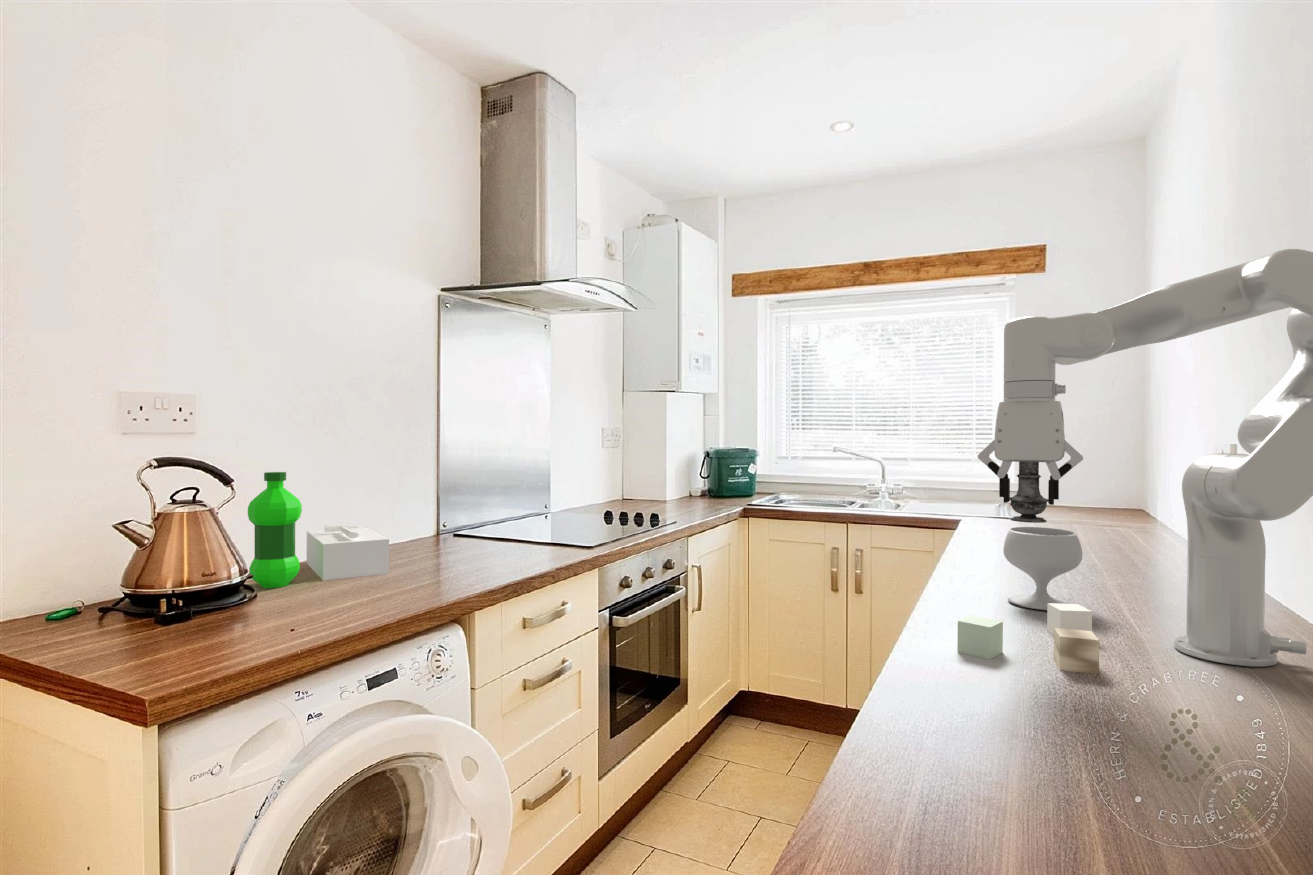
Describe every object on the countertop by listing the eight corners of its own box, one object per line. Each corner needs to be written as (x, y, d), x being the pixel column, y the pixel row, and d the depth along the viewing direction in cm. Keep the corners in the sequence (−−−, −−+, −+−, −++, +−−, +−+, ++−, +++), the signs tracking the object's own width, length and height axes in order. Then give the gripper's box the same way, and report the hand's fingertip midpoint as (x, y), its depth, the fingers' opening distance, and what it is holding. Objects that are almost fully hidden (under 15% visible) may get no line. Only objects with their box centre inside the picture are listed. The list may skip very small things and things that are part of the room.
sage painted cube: (1002, 652, 111) (1002, 621, 111) (990, 659, 107) (990, 627, 107) (970, 645, 114) (970, 615, 114) (957, 652, 111) (957, 620, 111)
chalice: (1066, 617, 132) (1067, 538, 132) (991, 603, 142) (991, 530, 142) (1092, 606, 141) (1092, 531, 141) (1019, 593, 151) (1020, 524, 151)
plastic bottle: (286, 590, 150) (286, 474, 150) (237, 590, 150) (237, 473, 150) (310, 580, 160) (310, 471, 160) (264, 580, 160) (264, 471, 160)
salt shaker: (1054, 523, 112) (1054, 448, 112) (1014, 522, 113) (1014, 448, 113) (1041, 518, 118) (1042, 447, 118) (1004, 517, 119) (1004, 447, 119)
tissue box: (365, 558, 189) (365, 518, 189) (388, 574, 169) (389, 529, 168) (306, 564, 181) (306, 522, 181) (323, 581, 160) (323, 534, 160)
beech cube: (1091, 664, 106) (1091, 631, 106) (1098, 674, 101) (1099, 640, 101) (1053, 660, 107) (1053, 627, 107) (1059, 670, 103) (1059, 636, 103)
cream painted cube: (1077, 632, 122) (1077, 604, 122) (1091, 641, 117) (1092, 611, 117) (1047, 631, 123) (1047, 603, 123) (1060, 639, 118) (1060, 610, 118)
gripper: (1090, 393, 114) (1089, 503, 114) (974, 395, 123) (974, 498, 123) (1091, 390, 108) (1090, 508, 108) (969, 393, 116) (968, 502, 117)
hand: (1028, 501), depth 115 cm, fingers closed on salt shaker, 5 cm apart
